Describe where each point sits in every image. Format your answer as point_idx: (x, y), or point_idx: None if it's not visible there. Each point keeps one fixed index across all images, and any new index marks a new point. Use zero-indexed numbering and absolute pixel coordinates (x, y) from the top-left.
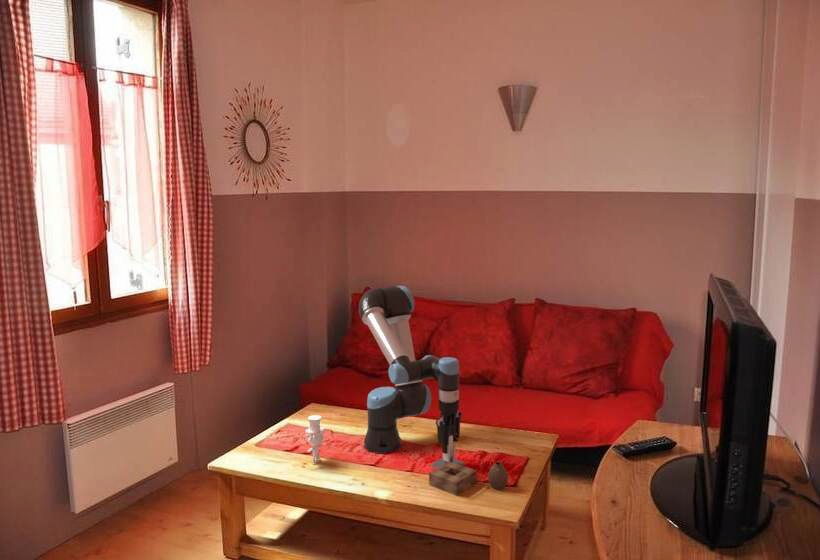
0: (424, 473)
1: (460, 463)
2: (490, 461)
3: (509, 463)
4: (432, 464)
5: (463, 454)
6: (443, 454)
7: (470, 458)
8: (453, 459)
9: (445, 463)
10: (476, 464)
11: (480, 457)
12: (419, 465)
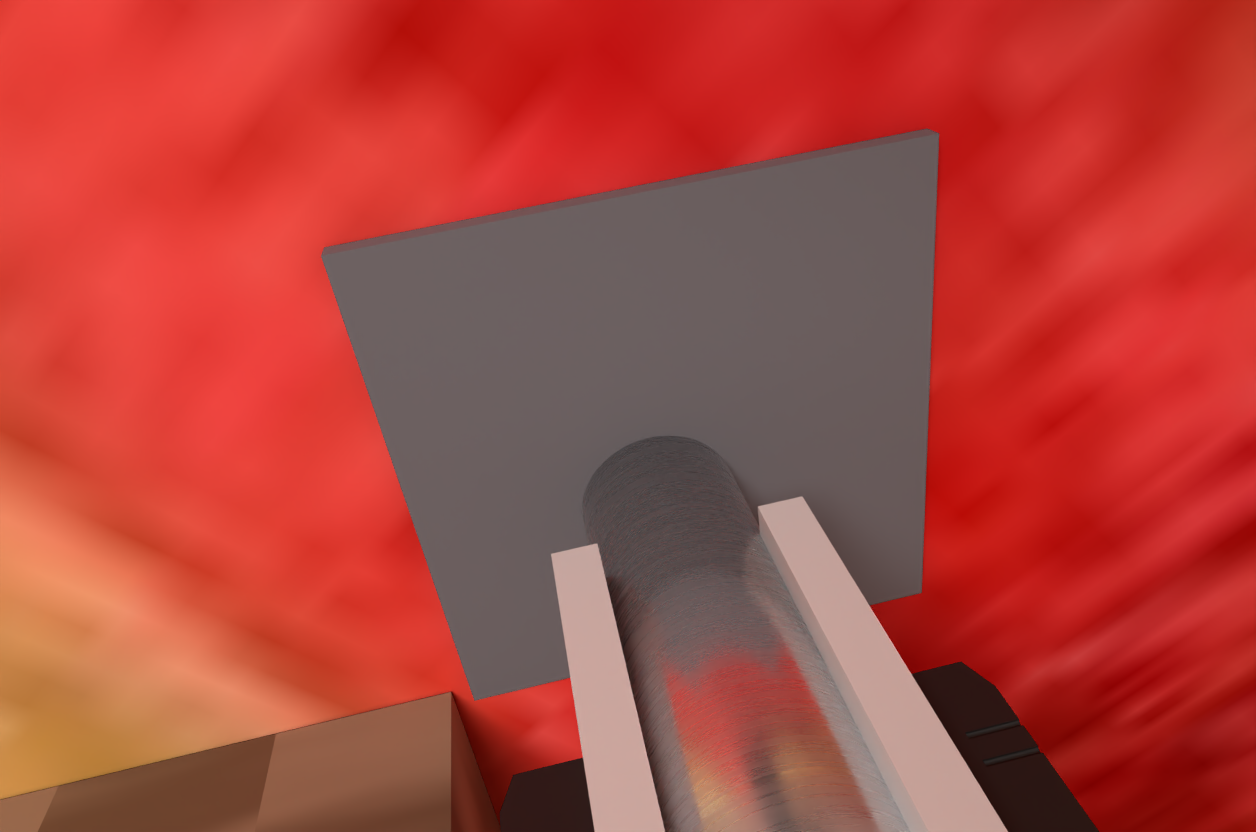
0: (22, 456)
1: (853, 557)
2: (1184, 679)
3: (1237, 803)
4: (407, 288)
5: (1228, 285)
6: (571, 678)
7: (1137, 472)
8: (909, 374)
9: (592, 522)
10: (998, 655)
11: (1243, 529)
12: (114, 57)
